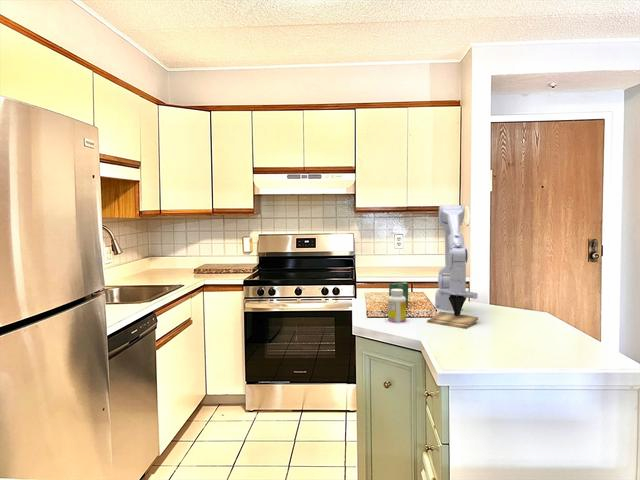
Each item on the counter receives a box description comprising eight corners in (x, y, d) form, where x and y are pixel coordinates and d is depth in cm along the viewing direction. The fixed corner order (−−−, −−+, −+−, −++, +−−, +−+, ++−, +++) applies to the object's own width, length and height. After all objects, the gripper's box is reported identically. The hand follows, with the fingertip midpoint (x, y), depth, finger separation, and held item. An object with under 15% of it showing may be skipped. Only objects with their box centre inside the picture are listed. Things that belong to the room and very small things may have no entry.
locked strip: (427, 322, 179) (427, 319, 179) (429, 321, 180) (429, 318, 180) (466, 329, 169) (466, 326, 169) (468, 327, 171) (468, 325, 171)
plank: (430, 320, 181) (430, 318, 181) (440, 313, 187) (440, 311, 187) (469, 327, 172) (469, 324, 171) (478, 319, 178) (477, 316, 177)
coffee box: (404, 312, 199) (404, 281, 198) (408, 314, 196) (408, 282, 195) (388, 315, 195) (388, 283, 194) (392, 316, 192) (392, 284, 191)
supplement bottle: (405, 321, 185) (405, 288, 184) (406, 325, 179) (406, 291, 178) (387, 320, 186) (387, 288, 185) (388, 325, 179) (388, 291, 178)
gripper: (435, 279, 182) (434, 314, 183) (472, 283, 173) (471, 320, 174) (443, 276, 187) (442, 311, 188) (479, 280, 178) (479, 316, 179)
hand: (457, 315), depth 181 cm, fingers closed, pressing on plank
